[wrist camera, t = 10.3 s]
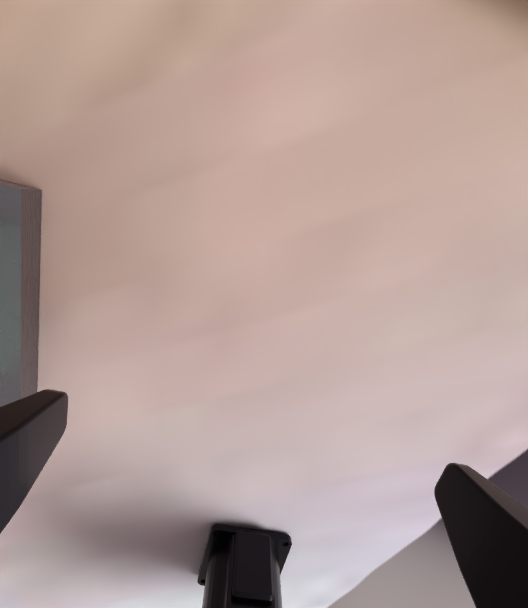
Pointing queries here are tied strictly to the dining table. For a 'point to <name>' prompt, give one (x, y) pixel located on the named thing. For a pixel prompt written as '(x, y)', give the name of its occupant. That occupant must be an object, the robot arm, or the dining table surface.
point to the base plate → (19, 290)
